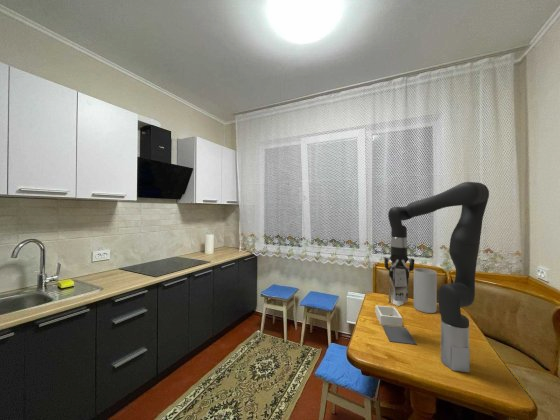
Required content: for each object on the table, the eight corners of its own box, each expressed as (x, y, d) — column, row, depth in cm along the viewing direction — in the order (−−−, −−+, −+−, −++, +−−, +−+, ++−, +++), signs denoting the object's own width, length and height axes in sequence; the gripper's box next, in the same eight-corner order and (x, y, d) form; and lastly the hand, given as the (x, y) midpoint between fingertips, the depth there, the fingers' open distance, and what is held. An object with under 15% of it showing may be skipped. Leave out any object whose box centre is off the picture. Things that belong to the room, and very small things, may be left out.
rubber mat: (417, 344, 107) (417, 344, 107) (389, 341, 109) (389, 340, 109) (406, 328, 121) (406, 327, 121) (382, 326, 124) (382, 325, 124)
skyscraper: (394, 300, 159) (395, 261, 159) (406, 304, 152) (406, 263, 152) (387, 303, 154) (388, 262, 154) (399, 307, 148) (399, 265, 148)
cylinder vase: (433, 306, 149) (433, 269, 149) (439, 315, 137) (439, 274, 137) (411, 304, 153) (411, 267, 153) (415, 311, 142) (416, 272, 142)
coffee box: (408, 302, 110) (408, 269, 110) (394, 301, 111) (394, 268, 111) (402, 295, 119) (402, 264, 119) (389, 294, 120) (389, 264, 120)
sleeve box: (402, 326, 123) (402, 317, 123) (380, 324, 125) (380, 315, 125) (394, 315, 137) (394, 307, 137) (375, 313, 139) (375, 305, 139)
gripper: (385, 246, 113) (385, 279, 113) (417, 247, 110) (417, 281, 110) (382, 244, 120) (382, 275, 120) (411, 245, 117) (411, 277, 117)
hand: (398, 278), depth 115 cm, fingers closed on coffee box, 6 cm apart
